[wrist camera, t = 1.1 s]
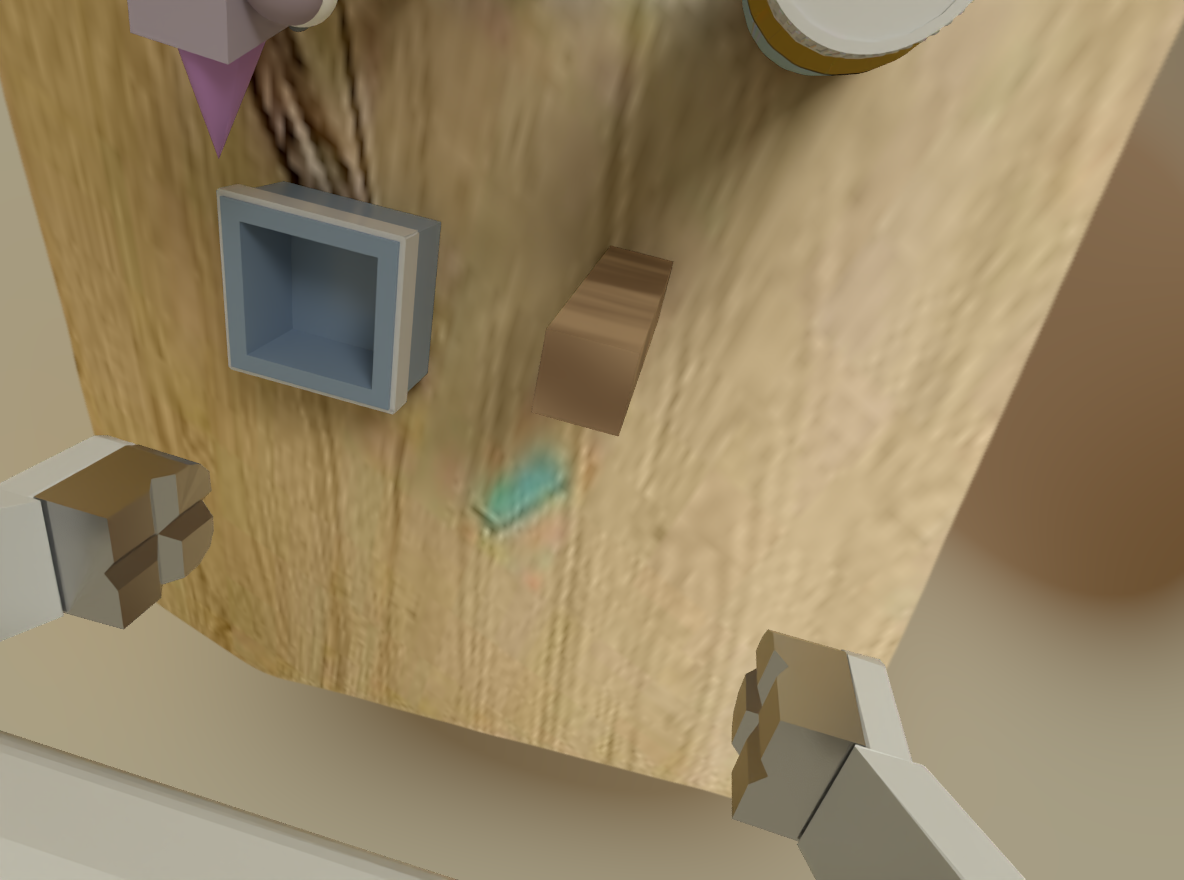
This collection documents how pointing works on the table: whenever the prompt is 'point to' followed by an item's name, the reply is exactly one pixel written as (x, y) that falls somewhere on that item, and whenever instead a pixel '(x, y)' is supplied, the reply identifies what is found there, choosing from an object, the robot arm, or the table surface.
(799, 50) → the bottle
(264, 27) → the mauve toy figure
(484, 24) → the table surface
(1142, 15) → the table surface
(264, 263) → the blue square box
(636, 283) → the brown wooden block
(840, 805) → the robot arm
